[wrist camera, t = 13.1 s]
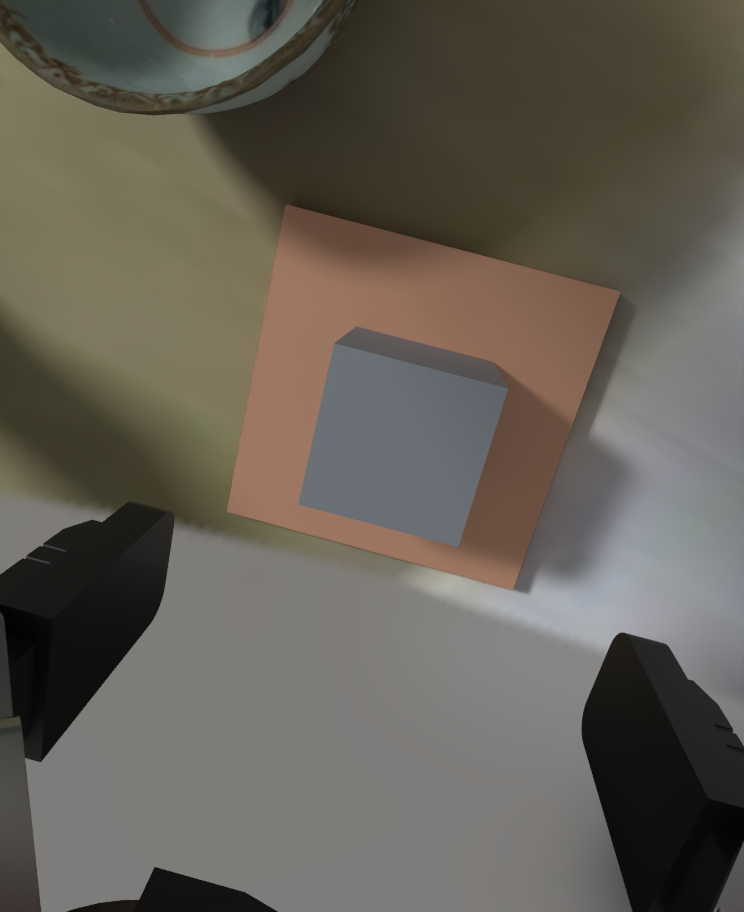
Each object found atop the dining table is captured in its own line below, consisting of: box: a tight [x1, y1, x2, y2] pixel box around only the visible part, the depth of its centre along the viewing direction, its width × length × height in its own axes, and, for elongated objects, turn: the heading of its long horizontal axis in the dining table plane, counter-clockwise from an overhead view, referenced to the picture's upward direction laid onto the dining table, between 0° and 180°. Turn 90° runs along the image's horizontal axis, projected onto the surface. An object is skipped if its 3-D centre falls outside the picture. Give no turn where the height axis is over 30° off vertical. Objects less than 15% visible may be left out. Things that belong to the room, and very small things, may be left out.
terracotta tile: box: [227, 204, 620, 590], centre depth 28 cm, size 14×14×1 cm
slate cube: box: [298, 326, 508, 547], centre depth 25 cm, size 6×6×6 cm
